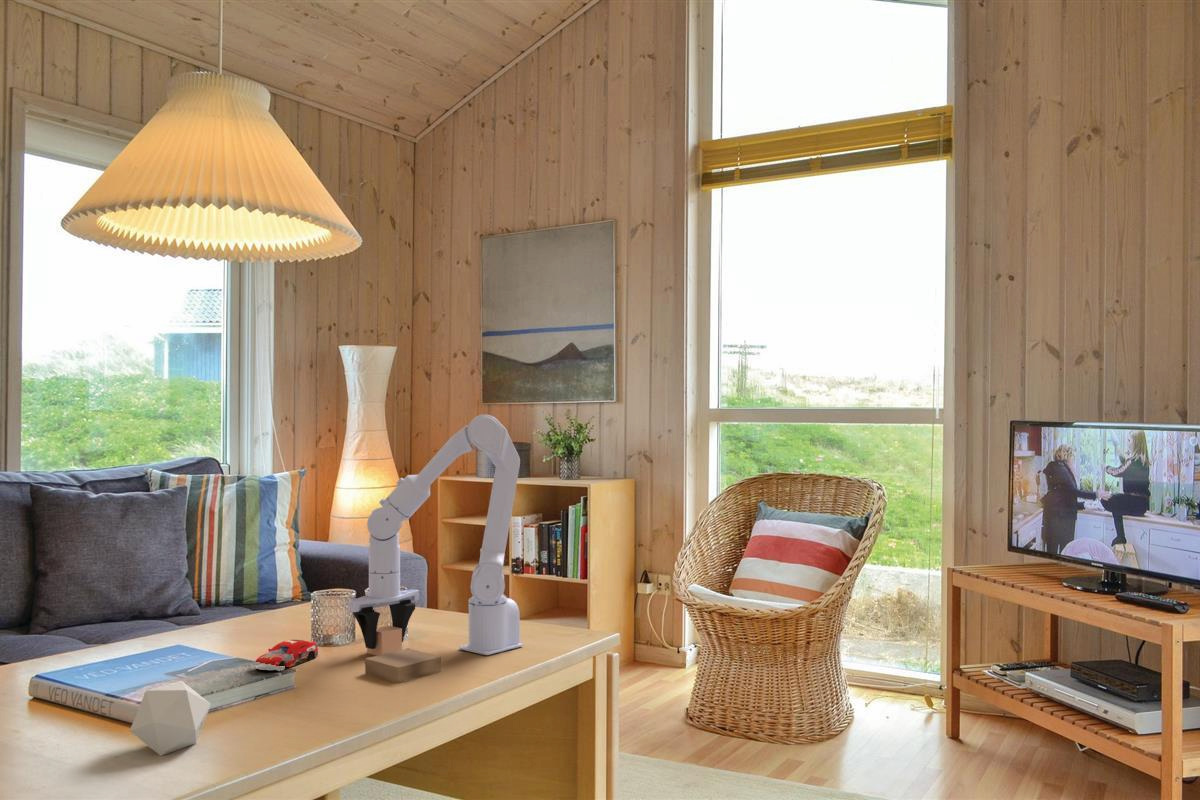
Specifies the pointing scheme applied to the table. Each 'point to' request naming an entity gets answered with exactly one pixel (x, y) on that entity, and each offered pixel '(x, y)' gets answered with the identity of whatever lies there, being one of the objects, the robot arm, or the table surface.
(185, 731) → the die
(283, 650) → the race car
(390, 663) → the walnut block
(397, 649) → the terracotta cube
